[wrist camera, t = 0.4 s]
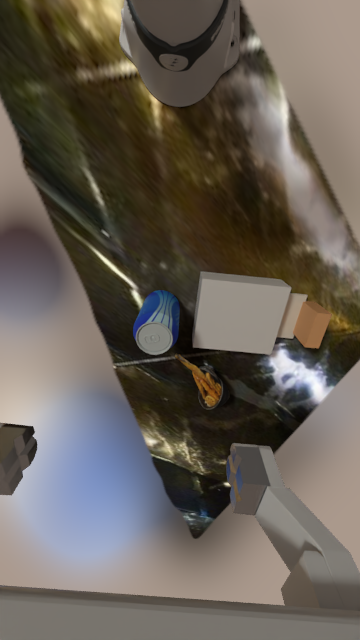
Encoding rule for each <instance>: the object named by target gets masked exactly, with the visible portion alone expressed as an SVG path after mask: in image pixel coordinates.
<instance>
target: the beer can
mask: <svg viewBox="0 0 360 640" xmlns="http://www.w3.org/2000/svg"><path fill="white" fill-rule="evenodd" d="M179 312H180V305H179V302H178V300H177V298H176V297H175V296H174V295H173V294H172V293H170V292H167V291H163V290H159V291H154V292H152V293H151V294H149V295H148V296H147V297H146V299H145V301H144V303H143V306H142V308H141V310H140V312H139V315H138V317H137V319H136V322H135V324H134V328H133V334H134V338H135V340H136V342H137V344H138V346H139V347H140V348H141V349H142V350H143V351H144V352H146V353H149V354H154V355H156V354H162V353H164V352H166V351H167V350H168V349H170V348H171V347H172V346H173V345H174V344H175V342H176V341H177V338H178V331H179Z"/></svg>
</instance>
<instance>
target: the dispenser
mask: <svg viewBox="0 0 360 640" xmlns="http://www.w3.org/2000/svg"><path fill="white" fill-rule="evenodd" d="M290 291H291V287H290V286H289V285H287V284H286V283H285V282H283V281H282V280H281V279H271V278H261V277H251V276H241V275H231V274H221V273H211V272H201V273H200V280H199V288H198V295H197V303H196V310H195V318H194V325H193V333H192V339H193V347H195V348H206V349H216V350H227V351H238V352H249V353H260V354H270V355H271V353H272V350H273V347H274V343H275V340H276V337H277V334H278V330H279V327H280V324H281V320H282V317H283V314H284V311H285V307H286V304H287V301H288V297H289V294H290Z"/></svg>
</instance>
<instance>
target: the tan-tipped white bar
mask: <svg viewBox="0 0 360 640" xmlns="http://www.w3.org/2000/svg"><path fill="white" fill-rule="evenodd" d="M307 296H308V295H305V294H295V293H290V294H289V297H288V301H287V304H286V307H285V311H284V314H283V317H282V320H281V324H280V327H279V330H278V334H277V337H280V338H291V339H293V337H294V335H295V336H296V337H297V339H298V340H299V341H300V342H301V343H302V345H303V346H304V347H308V348H319V346H320V344H321V341H322V338H323V336H324V333H325V331H326V328H327V326H328V323H329V321H330V318H331V316H332V314H331V313H329V312H328V311H327V310H325V309H324V308H323V307H321V306H320V305H319V304H317V303H316V302H310V301H306V298H307Z"/></svg>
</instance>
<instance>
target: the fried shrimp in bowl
mask: <svg viewBox="0 0 360 640" xmlns="http://www.w3.org/2000/svg"><path fill="white" fill-rule="evenodd" d="M175 358H177V359H178V360H180V361H181V362H182V363H183V364H184V365H185V366H187V367H188V368H189V369H191V370H192V371H193V376H194V379H195V381H196V383H197V385H198V388H199V401H200V404H201V405H202V407H203V408H205V409H208V410H211V409H214V408H218V407H221V406H222V405H223V404H224V403H226V402H227V401H228V399H229V397H230V396H229V390H228V388H227V386H226V384H225V383H224V382H223V381H222V380H221V379H220V378H219V377H218V376H217V375H216V374H215V371H214V370H213V369H212V368H211V367H208V366H205V367H197V366H196V365H193V364H191V363H190V362H189V361H187V360H186V359H184V358H183V357H182V356H181V355H180V354H176V355H175Z"/></svg>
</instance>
